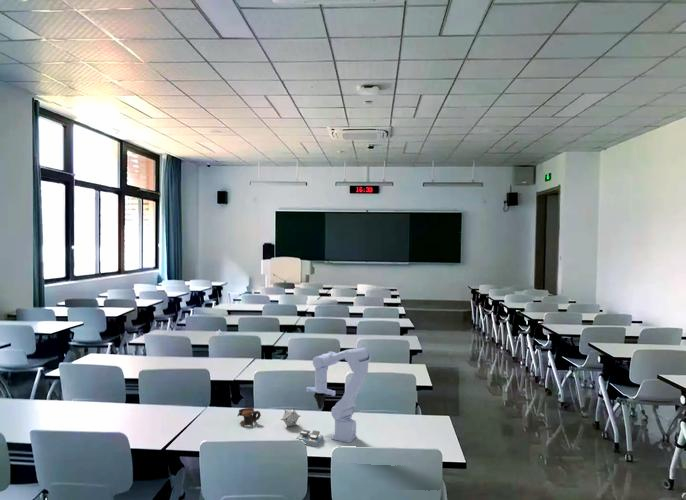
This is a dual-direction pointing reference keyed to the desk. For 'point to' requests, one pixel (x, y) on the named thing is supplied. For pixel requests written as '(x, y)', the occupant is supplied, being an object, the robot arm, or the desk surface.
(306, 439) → the switch panel
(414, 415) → the desk surface
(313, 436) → the rocker
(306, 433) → the rocker
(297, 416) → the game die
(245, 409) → the pottery mug
